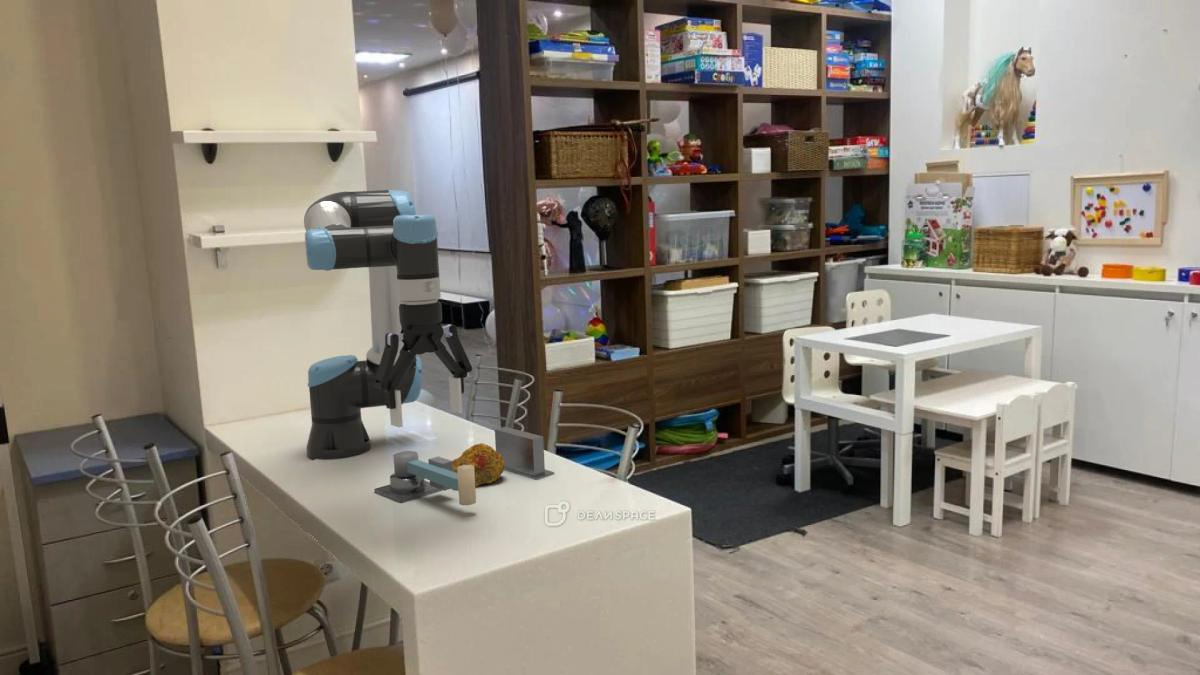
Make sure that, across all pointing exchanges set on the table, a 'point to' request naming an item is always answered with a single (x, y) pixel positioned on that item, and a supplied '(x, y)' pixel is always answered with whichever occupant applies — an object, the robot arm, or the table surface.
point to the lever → (438, 474)
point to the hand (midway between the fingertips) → (427, 418)
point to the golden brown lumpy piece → (482, 463)
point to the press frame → (512, 444)
